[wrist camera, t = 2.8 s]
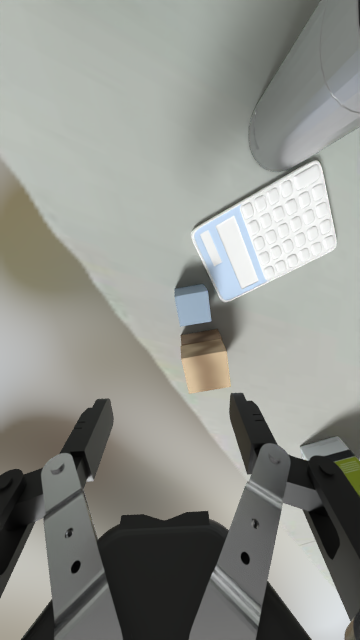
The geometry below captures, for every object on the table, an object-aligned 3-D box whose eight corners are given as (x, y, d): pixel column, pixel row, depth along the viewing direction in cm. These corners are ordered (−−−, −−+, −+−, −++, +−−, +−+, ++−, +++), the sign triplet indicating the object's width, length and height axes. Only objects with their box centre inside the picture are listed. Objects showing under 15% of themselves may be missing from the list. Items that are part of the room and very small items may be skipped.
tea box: (343, 469, 55) (399, 546, 41) (306, 478, 56) (349, 556, 42) (338, 434, 49) (402, 509, 35) (298, 445, 50) (344, 522, 37)
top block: (220, 338, 34) (226, 350, 30) (225, 371, 37) (230, 386, 33) (180, 345, 34) (181, 358, 31) (187, 378, 37) (189, 393, 33)
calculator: (332, 247, 33) (341, 248, 31) (221, 302, 36) (223, 306, 34) (313, 159, 28) (322, 154, 26) (187, 231, 31) (188, 231, 30)
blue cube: (203, 283, 34) (207, 290, 29) (206, 310, 36) (211, 321, 31) (174, 288, 34) (174, 296, 30) (179, 315, 36) (180, 326, 32)
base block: (217, 328, 38) (221, 338, 34) (220, 359, 40) (225, 371, 37) (180, 334, 38) (181, 344, 34) (186, 364, 41) (187, 377, 37)
